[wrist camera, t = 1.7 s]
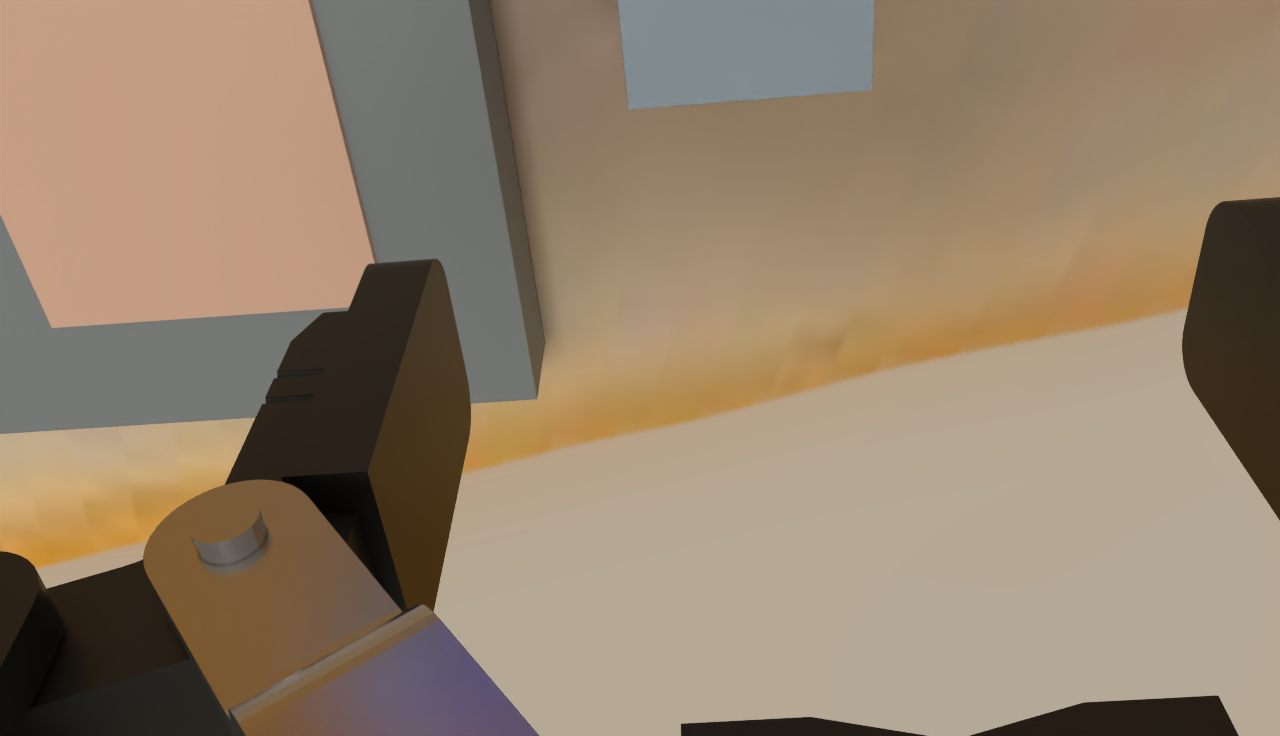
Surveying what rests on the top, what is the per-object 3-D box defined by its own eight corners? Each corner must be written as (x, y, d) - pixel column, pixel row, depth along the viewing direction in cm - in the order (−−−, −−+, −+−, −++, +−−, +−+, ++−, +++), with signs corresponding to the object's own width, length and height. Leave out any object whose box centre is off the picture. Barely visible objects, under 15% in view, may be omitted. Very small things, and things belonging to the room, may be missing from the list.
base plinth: (446, -264, 25) (423, -246, 23) (545, 343, 34) (536, 403, 32) (-250, -195, 26) (-344, -171, 24) (26, 378, 35) (-21, 439, 33)
